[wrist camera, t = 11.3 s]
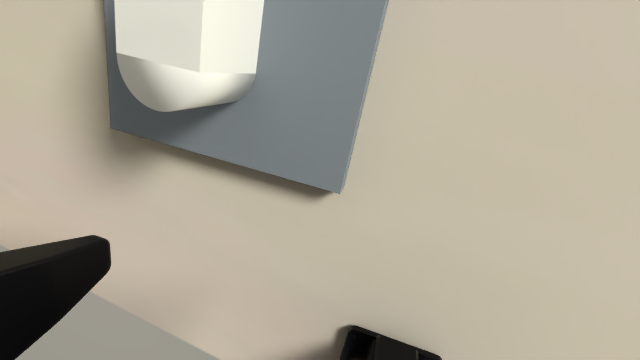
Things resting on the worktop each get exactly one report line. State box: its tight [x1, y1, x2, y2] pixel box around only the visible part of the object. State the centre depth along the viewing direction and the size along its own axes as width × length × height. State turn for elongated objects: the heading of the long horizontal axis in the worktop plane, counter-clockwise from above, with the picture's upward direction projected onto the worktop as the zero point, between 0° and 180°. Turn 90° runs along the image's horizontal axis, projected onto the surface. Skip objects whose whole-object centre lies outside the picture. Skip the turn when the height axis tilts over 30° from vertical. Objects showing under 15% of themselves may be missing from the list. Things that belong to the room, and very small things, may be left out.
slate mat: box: [104, 0, 389, 194], centre depth 17 cm, size 16×16×1 cm
